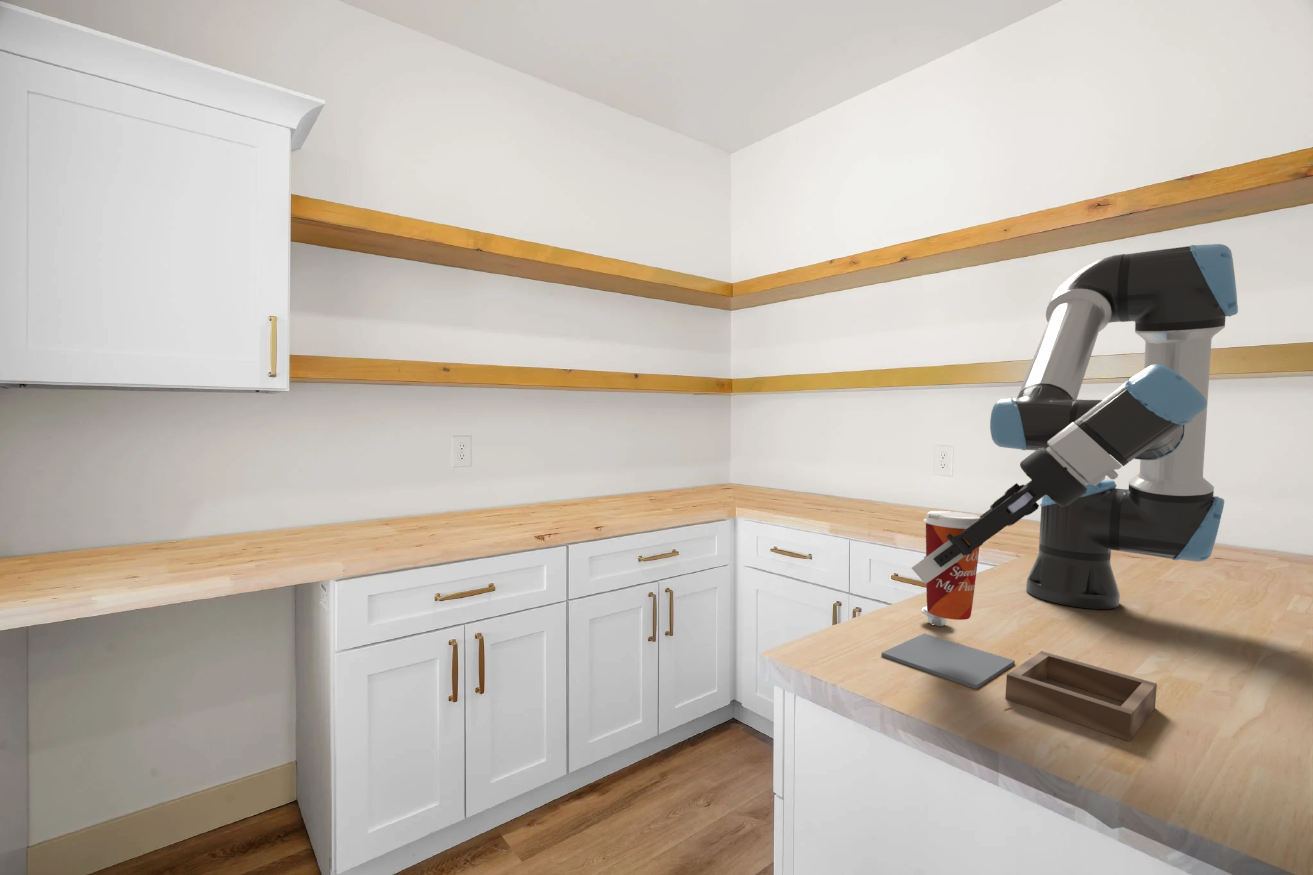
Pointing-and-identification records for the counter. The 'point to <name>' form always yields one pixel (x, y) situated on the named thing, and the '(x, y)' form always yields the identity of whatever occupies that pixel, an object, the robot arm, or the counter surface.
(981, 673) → the slate mat
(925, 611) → the screw
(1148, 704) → the cup holder
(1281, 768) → the counter surface
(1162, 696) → the counter surface
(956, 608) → the paper cup
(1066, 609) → the counter surface
